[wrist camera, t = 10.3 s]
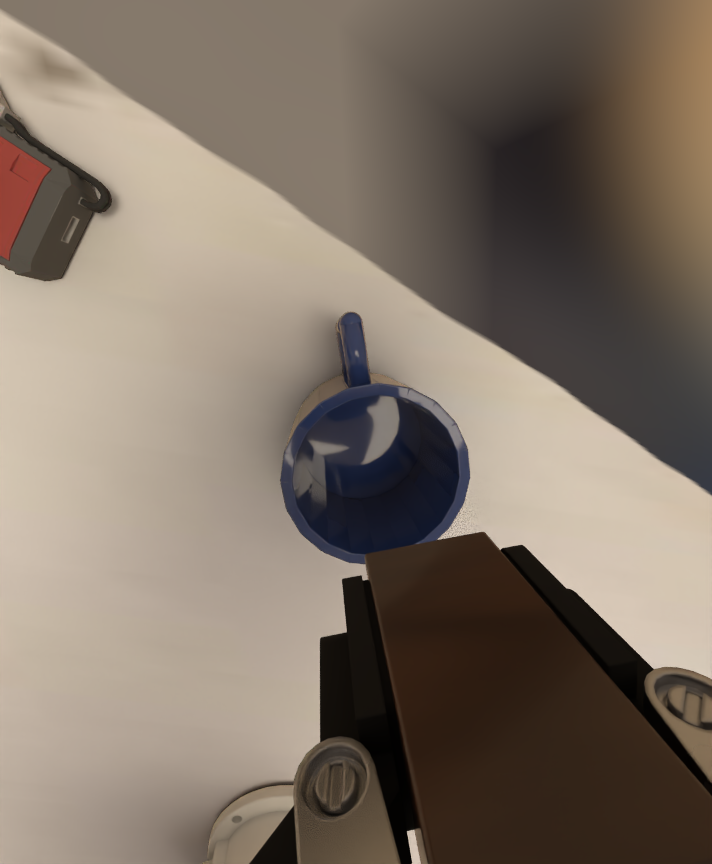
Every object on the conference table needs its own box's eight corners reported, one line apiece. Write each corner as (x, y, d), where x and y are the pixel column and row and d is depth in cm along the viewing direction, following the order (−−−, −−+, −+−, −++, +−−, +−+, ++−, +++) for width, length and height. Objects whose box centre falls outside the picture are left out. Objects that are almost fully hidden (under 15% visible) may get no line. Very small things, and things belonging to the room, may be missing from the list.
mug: (432, 489, 30) (476, 546, 21) (306, 513, 29) (301, 580, 21) (412, 308, 27) (454, 292, 18) (269, 331, 26) (246, 325, 18)
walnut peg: (380, 655, 11) (470, 1121, 5) (363, 552, 11) (442, 936, 4) (492, 632, 12) (739, 1048, 5) (484, 529, 11) (768, 856, 4)
